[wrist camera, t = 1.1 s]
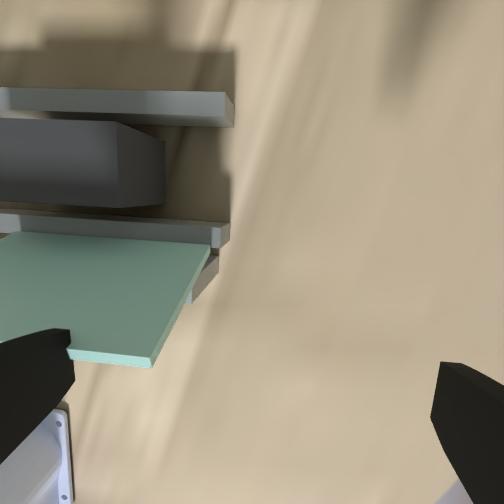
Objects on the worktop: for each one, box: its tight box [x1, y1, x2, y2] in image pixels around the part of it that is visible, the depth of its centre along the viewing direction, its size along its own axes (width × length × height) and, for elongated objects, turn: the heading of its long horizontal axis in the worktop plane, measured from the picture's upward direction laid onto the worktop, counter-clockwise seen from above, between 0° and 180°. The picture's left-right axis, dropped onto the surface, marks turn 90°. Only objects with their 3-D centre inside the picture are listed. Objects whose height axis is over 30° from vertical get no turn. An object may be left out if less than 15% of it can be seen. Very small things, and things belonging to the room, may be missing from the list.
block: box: [0, 118, 165, 208], centre depth 18 cm, size 4×8×6 cm, turn 87°
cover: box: [0, 231, 210, 368], centre depth 15 cm, size 8×12×1 cm
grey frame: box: [0, 87, 235, 304], centre depth 19 cm, size 11×24×6 cm, turn 87°
